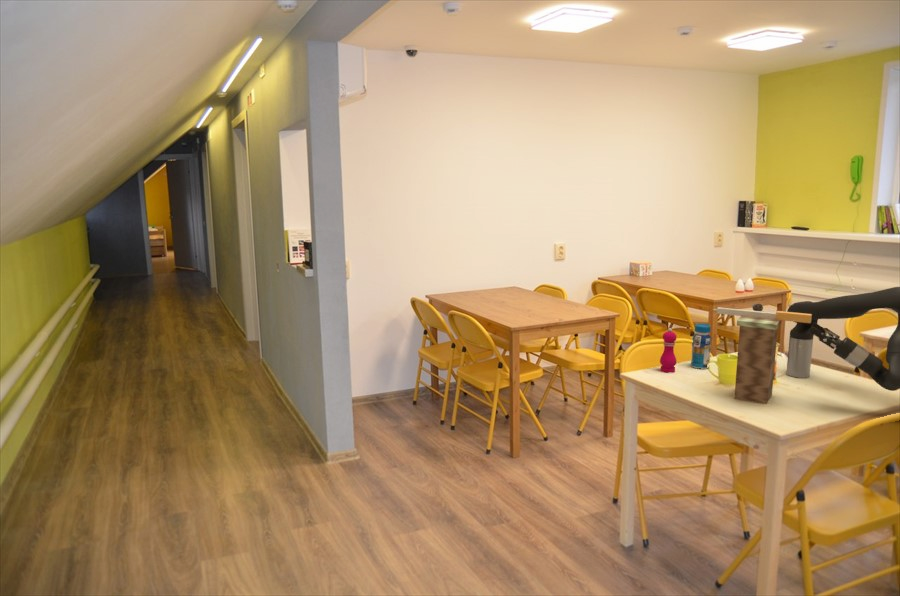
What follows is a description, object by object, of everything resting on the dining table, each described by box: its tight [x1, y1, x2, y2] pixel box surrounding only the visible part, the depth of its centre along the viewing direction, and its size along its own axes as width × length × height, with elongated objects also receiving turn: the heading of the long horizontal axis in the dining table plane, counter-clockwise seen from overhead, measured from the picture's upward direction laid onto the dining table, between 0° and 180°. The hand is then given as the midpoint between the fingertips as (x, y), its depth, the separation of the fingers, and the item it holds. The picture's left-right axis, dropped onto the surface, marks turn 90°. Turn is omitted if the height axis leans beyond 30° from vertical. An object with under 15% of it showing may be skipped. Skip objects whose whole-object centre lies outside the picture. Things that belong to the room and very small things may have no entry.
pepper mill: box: [659, 327, 677, 373], centre depth 299 cm, size 7×7×20 cm
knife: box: [712, 306, 812, 323], centre depth 262 cm, size 36×3×3 cm, turn 57°
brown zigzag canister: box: [733, 316, 783, 405], centre depth 262 cm, size 14×15×32 cm
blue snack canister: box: [690, 323, 712, 370], centre depth 304 cm, size 8×8×20 cm
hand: (811, 326), depth 252 cm, fingers open, 8 cm apart
